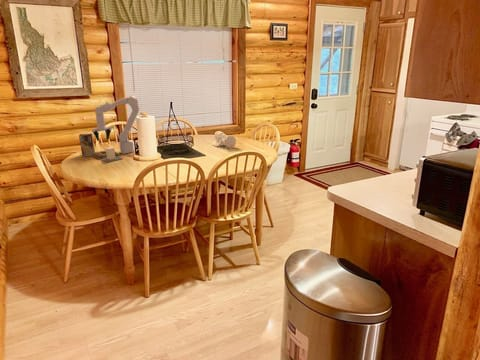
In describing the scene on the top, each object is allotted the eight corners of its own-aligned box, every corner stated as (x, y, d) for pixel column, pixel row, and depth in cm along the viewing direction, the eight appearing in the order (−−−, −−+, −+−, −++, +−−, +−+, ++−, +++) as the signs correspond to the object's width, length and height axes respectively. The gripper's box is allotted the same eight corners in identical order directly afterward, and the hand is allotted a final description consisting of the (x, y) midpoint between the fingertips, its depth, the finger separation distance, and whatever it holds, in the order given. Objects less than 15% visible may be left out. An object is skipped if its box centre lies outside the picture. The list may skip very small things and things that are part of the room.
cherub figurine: (222, 137, 290) (209, 130, 304) (222, 152, 295) (209, 144, 310) (236, 134, 296) (223, 127, 311) (236, 149, 302) (223, 141, 316)
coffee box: (95, 153, 286) (92, 133, 281) (94, 155, 280) (91, 134, 275) (82, 154, 284) (79, 133, 278) (81, 156, 278) (78, 135, 272)
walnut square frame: (110, 152, 288) (110, 149, 287) (117, 155, 280) (117, 152, 279) (92, 156, 279) (92, 152, 278) (99, 159, 271) (99, 155, 270)
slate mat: (116, 156, 277) (116, 155, 277) (122, 159, 270) (122, 158, 270) (100, 159, 270) (100, 159, 269) (106, 162, 263) (106, 161, 262)
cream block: (112, 157, 273) (111, 146, 270) (115, 158, 270) (114, 147, 267) (107, 158, 270) (105, 148, 267) (110, 159, 267) (108, 149, 264)
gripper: (107, 120, 286) (109, 137, 290) (89, 123, 276) (91, 140, 281) (111, 121, 281) (113, 139, 285) (93, 124, 271) (95, 142, 276)
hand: (103, 140), depth 283 cm, fingers open, 7 cm apart
